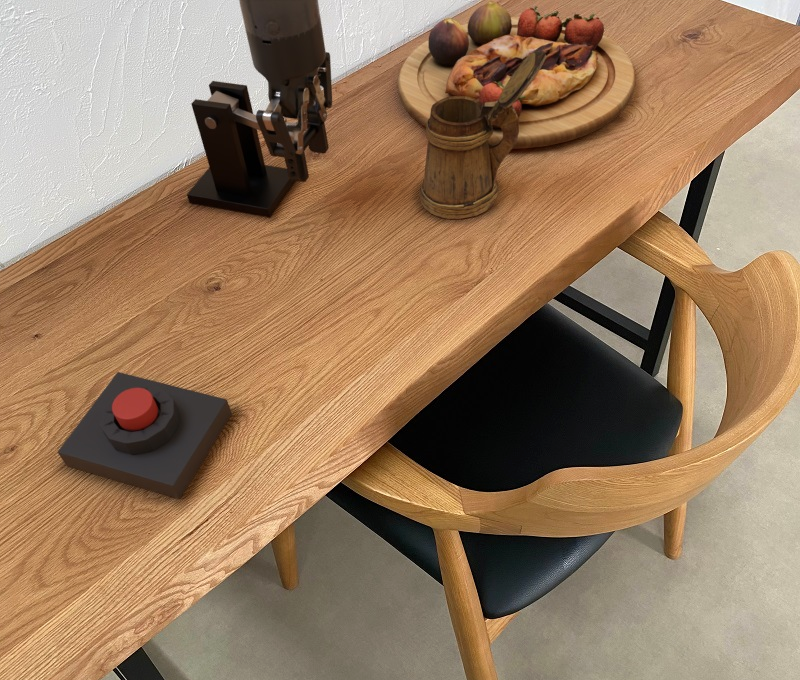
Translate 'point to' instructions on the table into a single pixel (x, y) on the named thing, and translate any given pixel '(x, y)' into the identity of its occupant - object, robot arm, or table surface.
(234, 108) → the lever
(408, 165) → the table surface
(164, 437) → the button box
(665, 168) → the table surface
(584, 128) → the wooden plate
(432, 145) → the wooden mug
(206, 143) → the bracket
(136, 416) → the button
